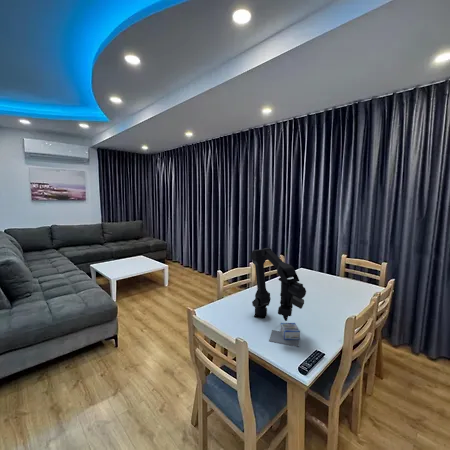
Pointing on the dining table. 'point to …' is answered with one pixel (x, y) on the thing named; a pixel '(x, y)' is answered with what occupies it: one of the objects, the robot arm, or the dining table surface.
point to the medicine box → (290, 331)
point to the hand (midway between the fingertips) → (285, 320)
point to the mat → (282, 339)
